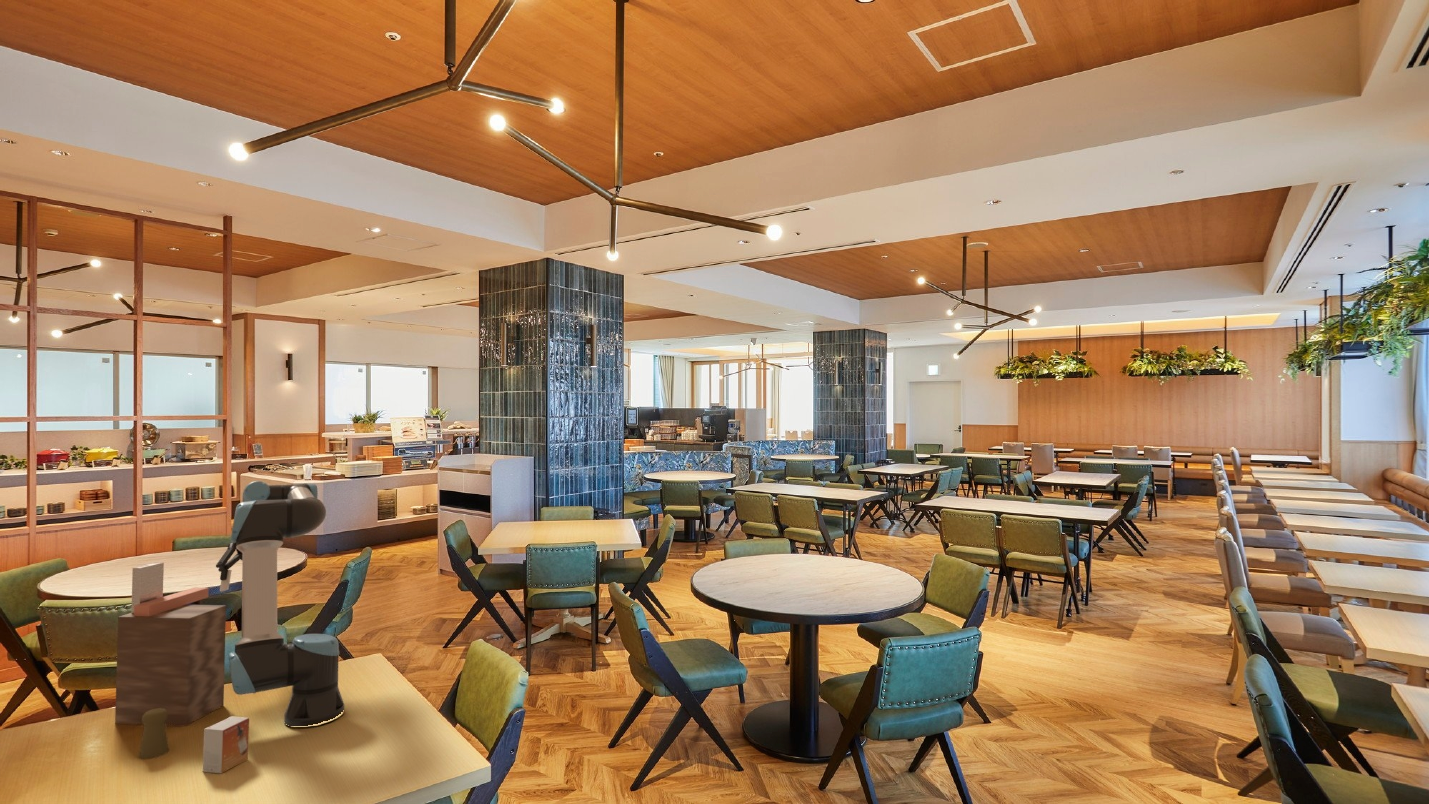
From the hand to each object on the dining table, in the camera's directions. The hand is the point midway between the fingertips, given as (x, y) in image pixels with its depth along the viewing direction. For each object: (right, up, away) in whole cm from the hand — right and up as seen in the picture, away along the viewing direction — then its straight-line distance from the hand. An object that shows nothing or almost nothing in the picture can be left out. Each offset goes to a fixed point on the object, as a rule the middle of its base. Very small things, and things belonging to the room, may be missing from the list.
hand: (241, 594), depth 233 cm
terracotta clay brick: (-6, +2, -21) cm, 23 cm away
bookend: (-11, +3, -25) cm, 28 cm away
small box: (+35, -27, -58) cm, 72 cm away
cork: (+12, -27, -51) cm, 59 cm away
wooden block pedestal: (-2, -27, -28) cm, 39 cm away
